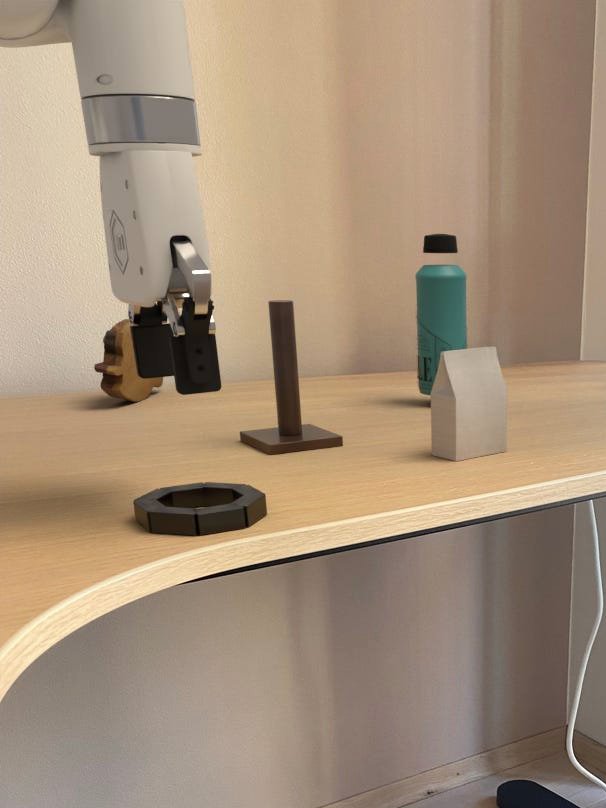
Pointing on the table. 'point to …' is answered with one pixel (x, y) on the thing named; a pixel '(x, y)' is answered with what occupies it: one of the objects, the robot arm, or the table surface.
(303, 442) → the post
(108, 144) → the robot arm
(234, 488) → the ring
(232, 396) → the table surface
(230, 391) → the table surface
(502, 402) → the grey gabled box
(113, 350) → the wooden carving
